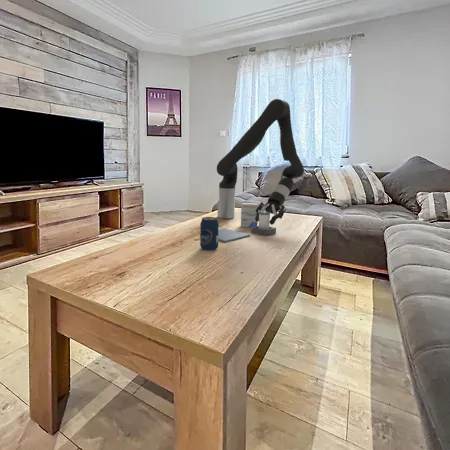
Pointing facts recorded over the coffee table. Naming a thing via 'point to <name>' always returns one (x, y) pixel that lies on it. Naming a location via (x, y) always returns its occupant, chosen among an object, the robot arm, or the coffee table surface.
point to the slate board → (230, 235)
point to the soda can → (209, 233)
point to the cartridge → (264, 220)
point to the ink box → (248, 214)
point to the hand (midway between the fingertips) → (263, 222)
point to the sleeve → (263, 231)
